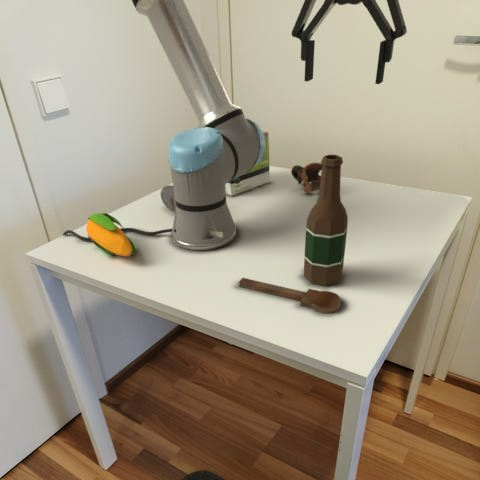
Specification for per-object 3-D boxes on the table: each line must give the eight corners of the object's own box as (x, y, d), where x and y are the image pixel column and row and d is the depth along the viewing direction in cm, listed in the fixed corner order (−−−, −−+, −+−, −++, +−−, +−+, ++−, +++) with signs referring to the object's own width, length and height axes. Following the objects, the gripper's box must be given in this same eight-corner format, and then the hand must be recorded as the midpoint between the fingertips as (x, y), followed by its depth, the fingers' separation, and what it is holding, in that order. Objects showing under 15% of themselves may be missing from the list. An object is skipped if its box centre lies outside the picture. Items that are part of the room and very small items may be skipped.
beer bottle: (295, 277, 92) (300, 158, 77) (319, 263, 96) (327, 147, 82) (326, 291, 87) (337, 167, 73) (350, 275, 91) (364, 155, 77)
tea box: (248, 175, 141) (247, 125, 132) (270, 183, 135) (270, 131, 126) (210, 188, 134) (205, 136, 125) (231, 197, 128) (228, 143, 119)
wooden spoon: (234, 291, 89) (234, 286, 88) (247, 277, 92) (247, 272, 92) (334, 316, 81) (335, 310, 80) (344, 300, 85) (344, 294, 84)
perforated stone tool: (156, 206, 125) (152, 181, 120) (172, 201, 127) (169, 176, 123) (185, 223, 115) (182, 197, 111) (202, 217, 117) (199, 191, 113)
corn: (103, 201, 108) (142, 228, 95) (112, 230, 113) (150, 259, 100) (74, 212, 105) (110, 241, 92) (84, 241, 110) (120, 272, 97)
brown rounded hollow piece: (332, 185, 133) (337, 165, 125) (319, 208, 130) (324, 190, 122) (295, 170, 135) (298, 150, 127) (282, 193, 132) (284, 174, 124)
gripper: (274, -61, 75) (274, 82, 87) (433, -75, 65) (407, 87, 78) (291, -59, 80) (288, 75, 93) (440, -72, 70) (414, 80, 83)
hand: (342, 81), depth 85 cm, fingers open, 13 cm apart
